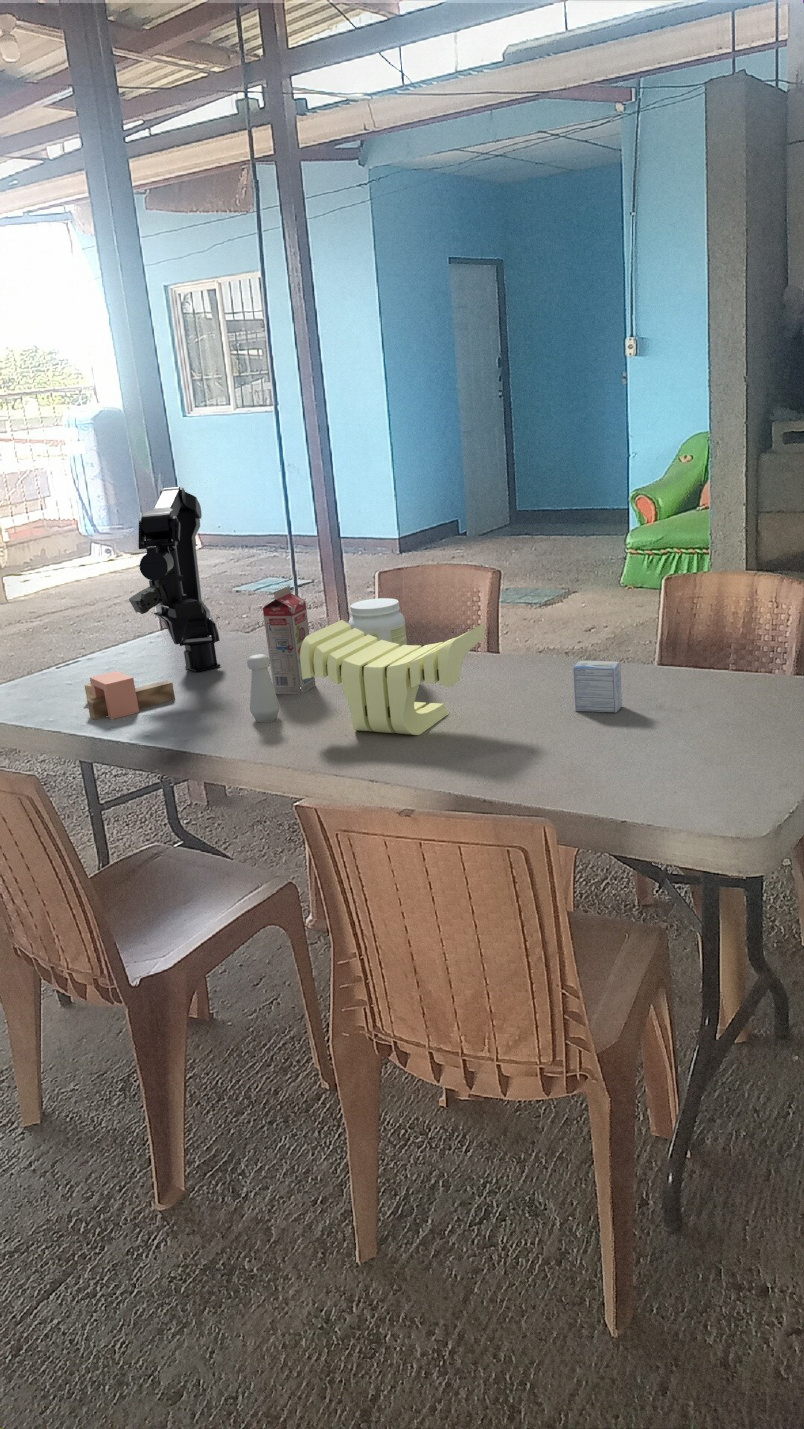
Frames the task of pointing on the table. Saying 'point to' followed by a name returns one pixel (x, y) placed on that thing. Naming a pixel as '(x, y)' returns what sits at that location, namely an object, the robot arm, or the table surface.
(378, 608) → the supplement tub
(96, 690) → the arch block
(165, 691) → the wooden plank
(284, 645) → the juice carton
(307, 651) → the slatted curved stool
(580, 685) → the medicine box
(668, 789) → the table surface
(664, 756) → the table surface
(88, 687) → the wooden cube
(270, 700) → the salt shaker
